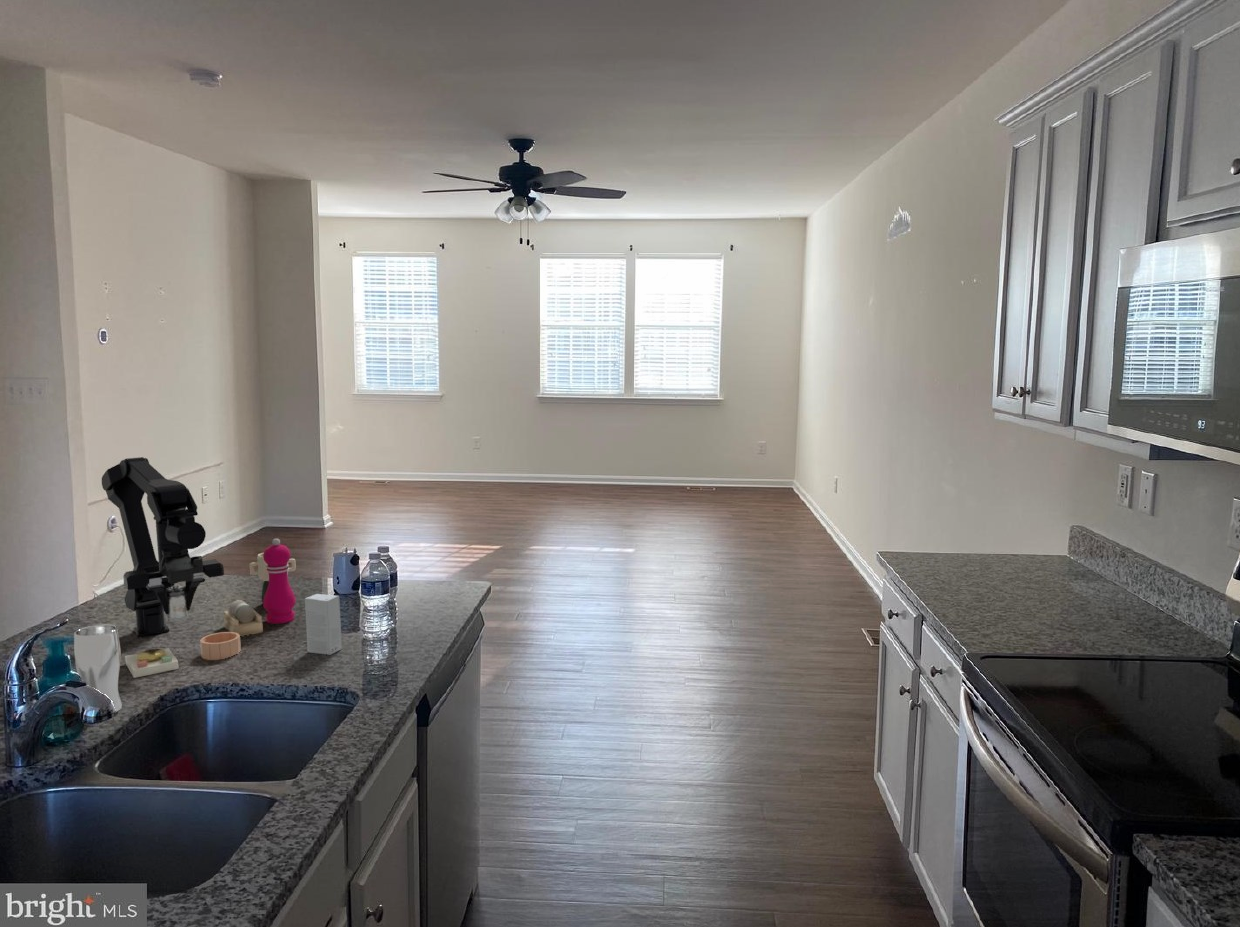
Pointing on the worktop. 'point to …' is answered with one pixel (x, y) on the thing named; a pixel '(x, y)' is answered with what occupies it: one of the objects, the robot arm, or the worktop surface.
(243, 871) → the worktop surface
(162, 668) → the white decorated slab
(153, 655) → the gold disc
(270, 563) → the pepper mill
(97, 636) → the beer glass
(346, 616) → the worktop surface
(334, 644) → the skincare box
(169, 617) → the glass salt shaker
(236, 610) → the trough rack
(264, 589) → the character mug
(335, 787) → the worktop surface
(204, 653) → the peach faceted bowl
